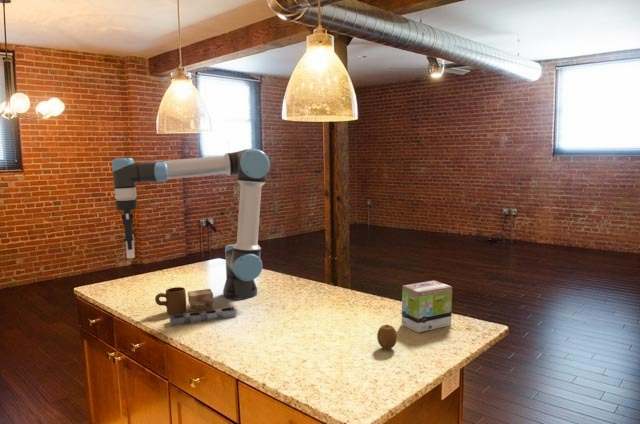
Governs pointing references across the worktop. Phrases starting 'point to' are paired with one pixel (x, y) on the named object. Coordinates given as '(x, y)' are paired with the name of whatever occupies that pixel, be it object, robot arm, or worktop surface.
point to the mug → (173, 300)
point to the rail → (202, 316)
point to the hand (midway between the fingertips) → (130, 254)
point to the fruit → (387, 336)
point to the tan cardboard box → (200, 298)
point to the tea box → (426, 305)
